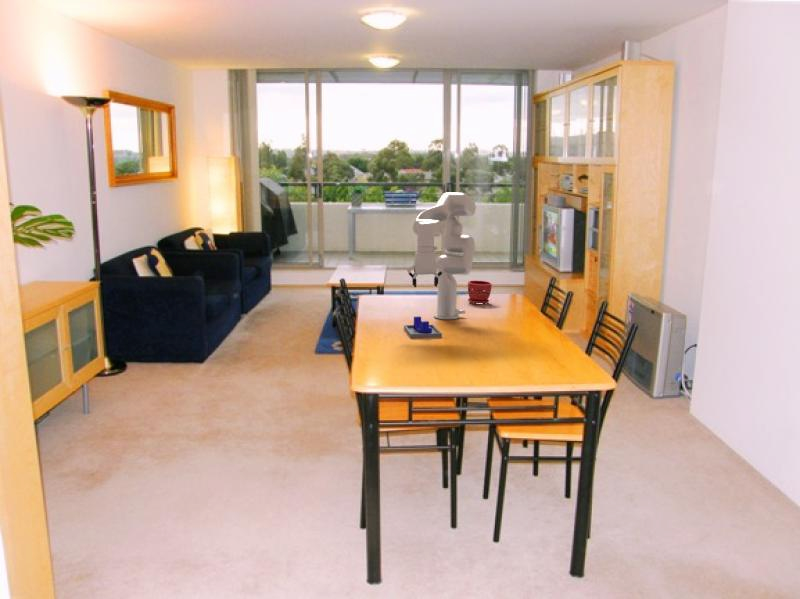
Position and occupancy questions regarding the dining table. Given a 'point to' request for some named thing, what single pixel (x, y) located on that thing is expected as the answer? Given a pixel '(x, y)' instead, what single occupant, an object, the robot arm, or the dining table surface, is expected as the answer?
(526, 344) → the dining table surface
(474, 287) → the plant pot
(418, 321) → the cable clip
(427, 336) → the shallow rectangular tray
